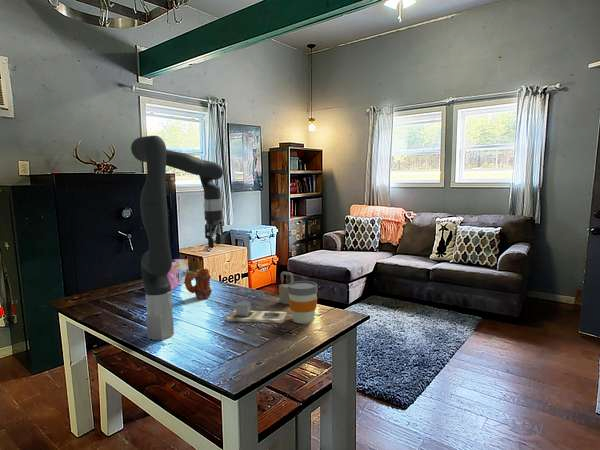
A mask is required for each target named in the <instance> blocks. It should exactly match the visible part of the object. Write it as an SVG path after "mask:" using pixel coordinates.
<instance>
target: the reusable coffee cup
mask: <svg viewBox="0 0 600 450" xmlns="http://www.w3.org/2000/svg"><path fill="white" fill-rule="evenodd" d="M287 285H288V293H289V298H288V299H289V304H288V305H289V309H290V311H291V315H292V316H291V318H292V321H293V322H294V323H296V324H310V323H312V322H314V320H315V313H316V309H317V305H318V297H317V294H318V283H316V282H314V281H310V280H299V281H294V282H292V283H291V282H290V283H288V284H287Z"/></svg>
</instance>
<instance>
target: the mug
mask: <svg viewBox="0 0 600 450" xmlns="http://www.w3.org/2000/svg"><path fill="white" fill-rule="evenodd" d="M211 278H212V276H211V274H210V272H209V269H208V268H201V269H197V270H195V272H194V271H191V270H189V272H188V273H187V274H186V276H185V283H184V286H185V289H186V290H187V291H188V292H189V293H191V294H195V297H196V298H198V299H207V298H210V296H211V293H212V292H213V290H212V289H211V284H210V283H211V282H210V281H211V280H210V279H211ZM193 280H194V281H195V285H193V284H192V281H193Z"/></svg>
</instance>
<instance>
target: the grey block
mask: <svg viewBox="0 0 600 450" xmlns="http://www.w3.org/2000/svg"><path fill="white" fill-rule="evenodd" d="M251 307H252V305H251V301H239V302H237V303H236V304H235V310H236V317H241V318H249V317H250V316H251V311H252V308H251Z"/></svg>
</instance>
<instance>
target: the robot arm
mask: <svg viewBox="0 0 600 450" xmlns="http://www.w3.org/2000/svg"><path fill="white" fill-rule="evenodd" d="M130 151H131V154H132V156H134V158H135V160H138V161H140V162H143V163H146V178H145V182H144V184H143V188H142V190H141V193H140V199H139V203H140V204H139V205H140V216H141V219H142V224H143V226H144V229H145V230H144V231H145V232H146V236H147V240H148V250H147V251H146V252H144V254H143V255H142V256H141V260H140V270H141V280H142V285H143V288H144V293H145V306H146V315H145V321H146V332H147V333H146V334H147V340H150V339H152V340H153V341H155V340H156V341H163V340H166V339H168V338H170V337H172V336H174V334H175V328H174V314H173V313H174V312H173V301H172V299H173V298H172V297H173V296H172V290H171V284H170V282H169V281H168V278H167V273H168V272H169V271H170V269H171V267H172V260H173V257H172V252H171V246H170V240H169V238H170V237H169V223H168V222H169V219H168V215H169V214H168V212H169V211H168V199H167V183H166V181H167V180H166V179H167V178H166V175H167V173H166V169H167V167H170V168H173V169H176V170H179V171H182V172H186V173H188V174H191V175H193V176H194V175H195V176H198V177H199V180H200V182H201V186H202V189H203V198H204V199H203V210H204V211H203V213H204V221H206V222H208V224H207V223H206V224H204V238H205V239H207V244H208V245H207V246H208V248H209V249H212V248H214V245H221V244H222V235H223V234H224V230H223V228H224V227H223V221H222V220H223V209H222V208H223V207H222V199H221V187H220V186H218V185H216V184H215V182H214V181H216V180H220V179H221V178H222V177H223V175H224V169H223V167H222V166H221V165H220V164H219V163H217V162H215V161H210V160H205V159H201V158H199V157H196V156H194V155H190V154H188V153H183V152H178V151H175V150H169V149H167V147H166V143H165V141H164V140H163V138H161V137H160V136H158V135H147V136H145V135H144V136H140V137H137V138H136V139H134V140H133V141H132V143H131V145H130ZM214 237H215V244H214ZM152 340H151V341H152Z"/></svg>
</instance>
